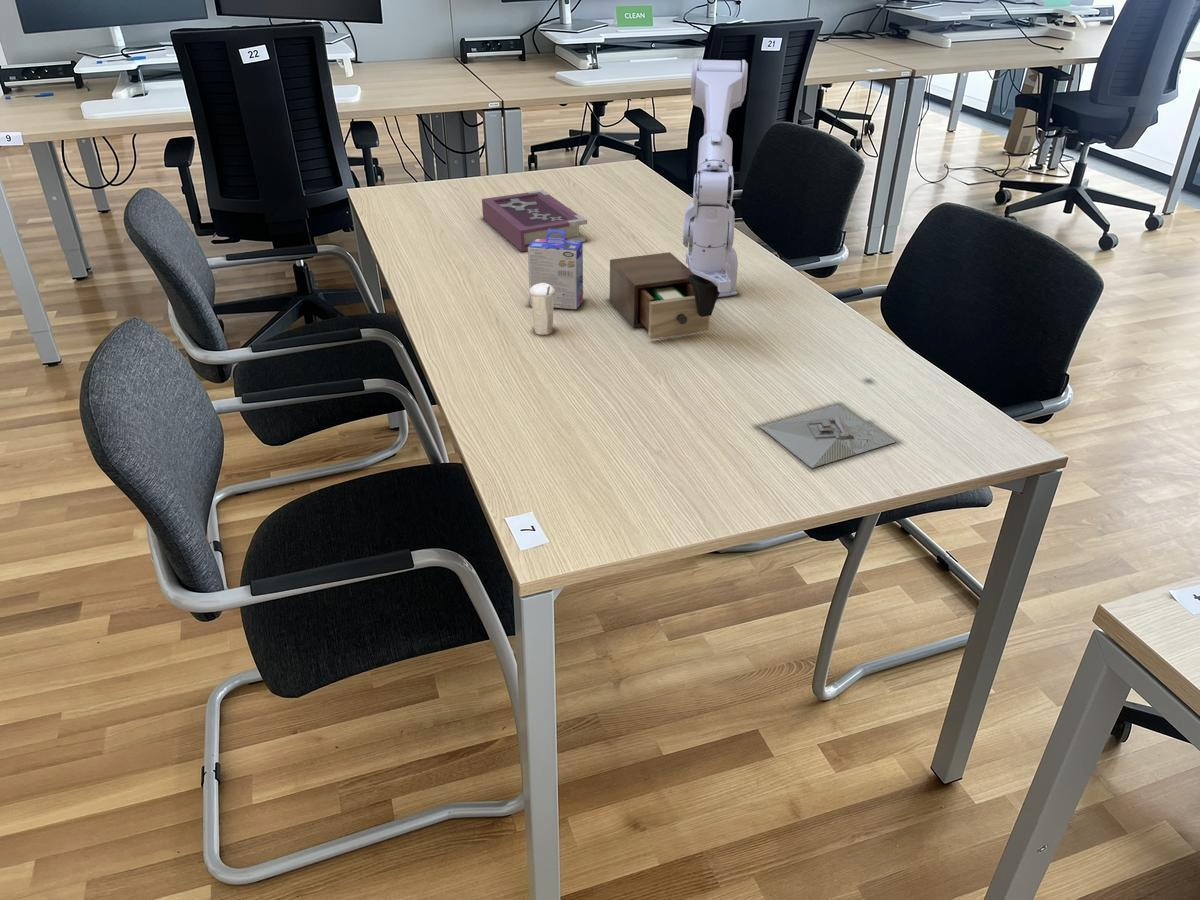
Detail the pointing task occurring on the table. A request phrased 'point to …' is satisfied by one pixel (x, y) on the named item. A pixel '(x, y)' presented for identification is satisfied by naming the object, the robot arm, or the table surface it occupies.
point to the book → (531, 218)
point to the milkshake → (542, 307)
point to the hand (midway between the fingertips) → (704, 314)
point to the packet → (665, 293)
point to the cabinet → (642, 280)
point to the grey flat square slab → (826, 435)
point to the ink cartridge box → (558, 268)
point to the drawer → (670, 313)
